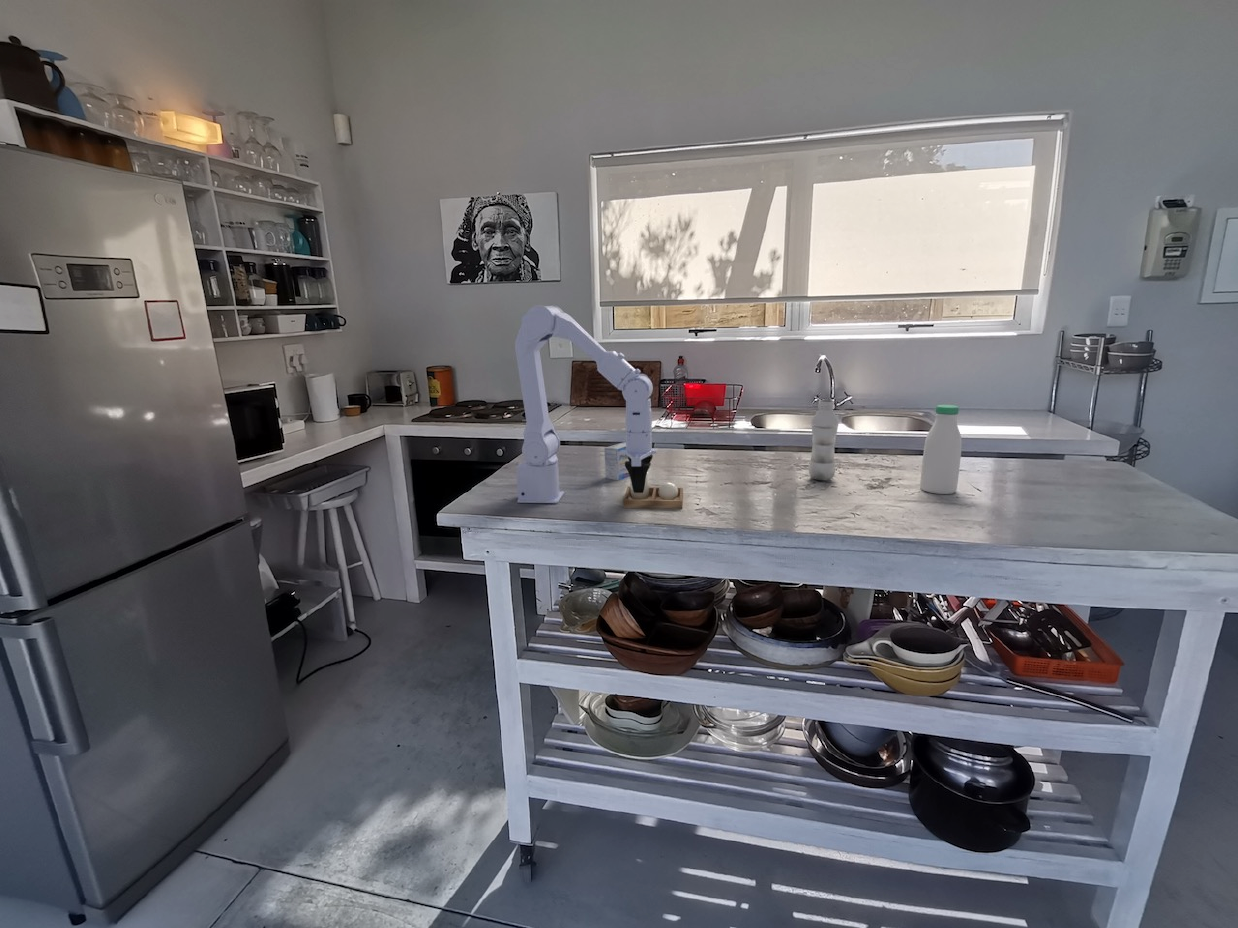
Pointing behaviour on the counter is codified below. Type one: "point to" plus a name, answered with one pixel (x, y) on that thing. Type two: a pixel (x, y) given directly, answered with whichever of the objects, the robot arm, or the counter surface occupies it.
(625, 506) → the caddy
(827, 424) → the plastic bottle
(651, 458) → the robot arm
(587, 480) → the counter surface
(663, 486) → the ceramic egg
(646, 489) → the white rounded block
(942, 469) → the milk bottle
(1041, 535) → the counter surface
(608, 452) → the medicine box
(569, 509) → the counter surface
